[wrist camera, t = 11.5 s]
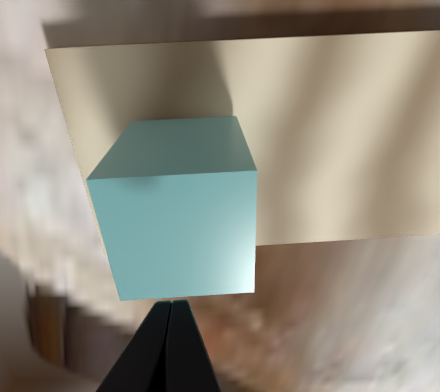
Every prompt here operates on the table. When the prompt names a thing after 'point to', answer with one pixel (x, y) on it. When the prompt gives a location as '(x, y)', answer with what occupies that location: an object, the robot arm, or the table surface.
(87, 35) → the table surface
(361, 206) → the post stand
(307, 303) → the table surface
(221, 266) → the teal rectangular block
